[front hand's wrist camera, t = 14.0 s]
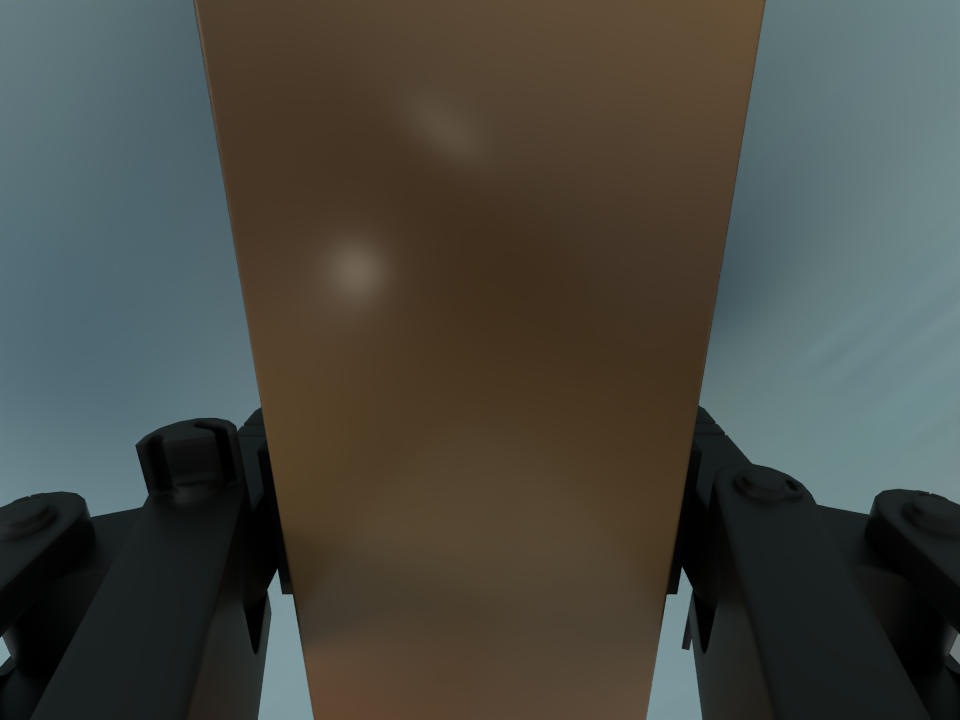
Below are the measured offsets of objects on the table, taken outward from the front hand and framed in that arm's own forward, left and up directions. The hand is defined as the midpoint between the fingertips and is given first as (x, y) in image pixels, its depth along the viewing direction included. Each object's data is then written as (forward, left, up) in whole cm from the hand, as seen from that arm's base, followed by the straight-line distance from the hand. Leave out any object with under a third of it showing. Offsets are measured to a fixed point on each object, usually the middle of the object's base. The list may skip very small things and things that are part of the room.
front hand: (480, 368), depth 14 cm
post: (+31, +7, -1) cm, 32 cm away
